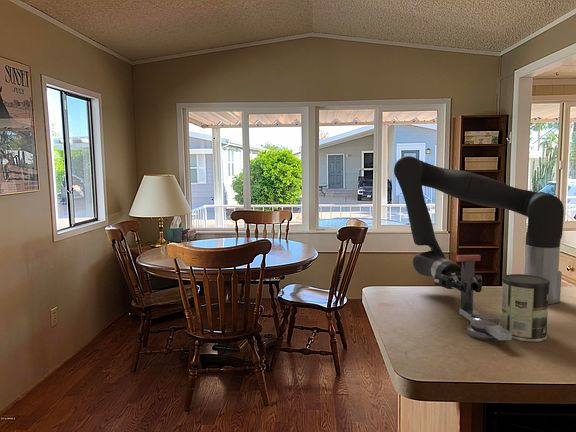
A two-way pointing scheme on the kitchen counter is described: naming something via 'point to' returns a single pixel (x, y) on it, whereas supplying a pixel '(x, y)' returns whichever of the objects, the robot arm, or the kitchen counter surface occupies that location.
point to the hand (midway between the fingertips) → (471, 288)
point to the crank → (466, 302)
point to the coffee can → (525, 306)
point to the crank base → (480, 334)
